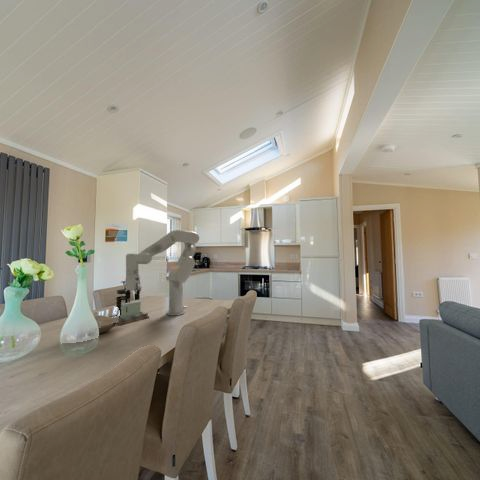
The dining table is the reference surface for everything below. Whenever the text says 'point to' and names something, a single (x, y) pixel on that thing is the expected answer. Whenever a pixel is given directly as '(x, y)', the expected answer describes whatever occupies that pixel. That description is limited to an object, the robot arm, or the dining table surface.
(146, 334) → the dining table surface
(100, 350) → the dining table surface
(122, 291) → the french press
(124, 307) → the door panel
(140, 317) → the door track
